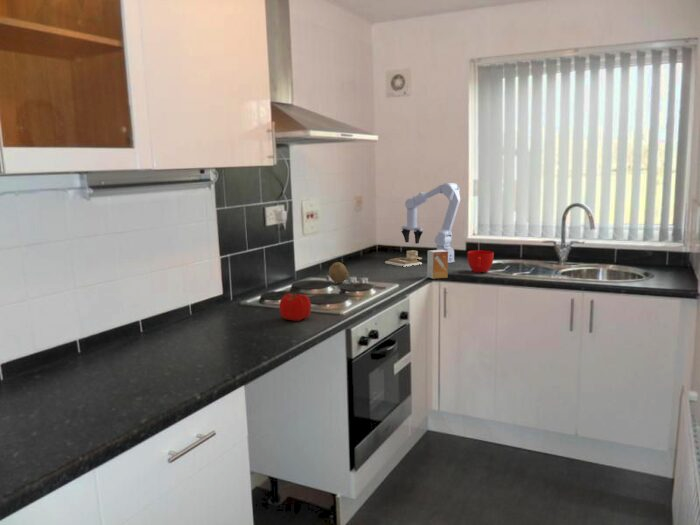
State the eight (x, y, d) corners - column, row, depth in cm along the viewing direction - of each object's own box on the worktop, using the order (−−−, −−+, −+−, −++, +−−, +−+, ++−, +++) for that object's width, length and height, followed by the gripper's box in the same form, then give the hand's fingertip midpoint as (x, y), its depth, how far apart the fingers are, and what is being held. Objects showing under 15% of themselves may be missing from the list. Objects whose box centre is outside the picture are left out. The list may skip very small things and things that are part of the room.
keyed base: (422, 264, 317) (422, 260, 316) (404, 266, 309) (404, 262, 309) (402, 260, 329) (402, 256, 329) (385, 263, 322) (385, 259, 321)
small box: (433, 279, 275) (433, 252, 273) (426, 276, 281) (427, 250, 279) (448, 277, 278) (448, 251, 276) (441, 275, 284) (442, 249, 282)
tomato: (317, 318, 207) (317, 293, 206) (293, 325, 199) (292, 299, 197) (297, 313, 214) (296, 289, 213) (272, 320, 206) (271, 295, 204)
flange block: (414, 258, 339) (414, 249, 338) (422, 259, 335) (422, 250, 334) (402, 260, 333) (402, 251, 332) (409, 261, 329) (409, 252, 328)
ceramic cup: (465, 275, 284) (465, 254, 282) (468, 269, 300) (468, 250, 298) (492, 276, 280) (492, 255, 279) (493, 270, 296) (494, 250, 295)
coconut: (325, 282, 271) (324, 261, 269) (342, 280, 275) (341, 259, 273) (333, 285, 263) (333, 264, 261) (351, 283, 267) (350, 262, 265)
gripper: (426, 219, 329) (426, 243, 331) (407, 218, 340) (407, 241, 342) (418, 220, 324) (418, 244, 327) (399, 219, 335) (399, 242, 337)
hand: (412, 242), depth 334 cm, fingers open, 7 cm apart
